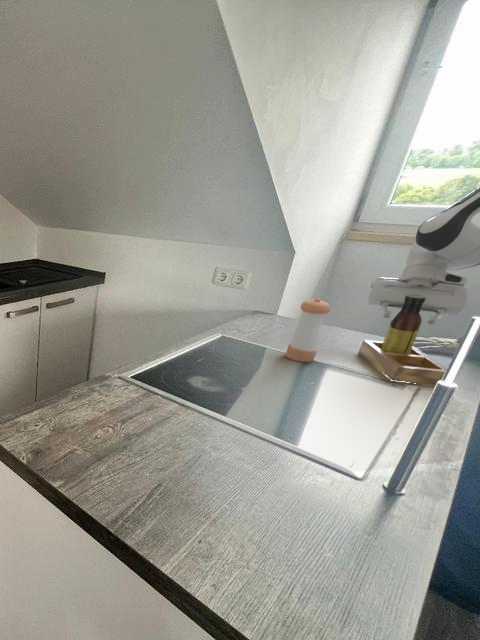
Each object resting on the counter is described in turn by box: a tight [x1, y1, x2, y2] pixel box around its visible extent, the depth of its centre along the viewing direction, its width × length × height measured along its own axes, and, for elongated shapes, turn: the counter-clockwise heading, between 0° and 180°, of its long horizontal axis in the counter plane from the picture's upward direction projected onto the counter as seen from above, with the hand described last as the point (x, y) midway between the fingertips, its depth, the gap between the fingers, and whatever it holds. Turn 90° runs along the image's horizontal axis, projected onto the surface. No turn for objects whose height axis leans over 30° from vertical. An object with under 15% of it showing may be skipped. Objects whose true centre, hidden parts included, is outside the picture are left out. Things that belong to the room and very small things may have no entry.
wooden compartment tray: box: [358, 339, 448, 388], centre depth 112 cm, size 12×22×5 cm, turn 159°
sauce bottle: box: [381, 295, 426, 354], centre depth 113 cm, size 7×6×20 cm
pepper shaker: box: [285, 297, 331, 363], centre depth 119 cm, size 7×7×19 cm
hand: (407, 320), depth 113 cm, fingers open, 8 cm apart
